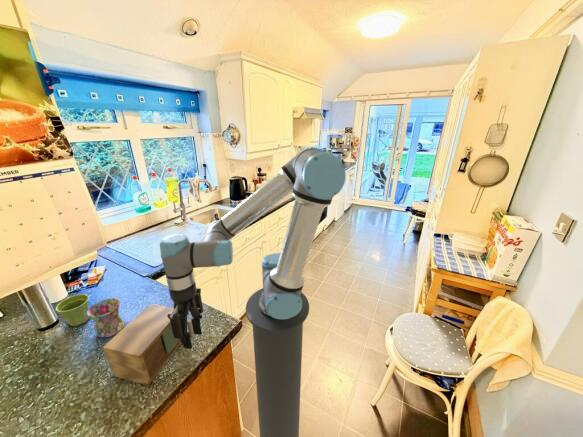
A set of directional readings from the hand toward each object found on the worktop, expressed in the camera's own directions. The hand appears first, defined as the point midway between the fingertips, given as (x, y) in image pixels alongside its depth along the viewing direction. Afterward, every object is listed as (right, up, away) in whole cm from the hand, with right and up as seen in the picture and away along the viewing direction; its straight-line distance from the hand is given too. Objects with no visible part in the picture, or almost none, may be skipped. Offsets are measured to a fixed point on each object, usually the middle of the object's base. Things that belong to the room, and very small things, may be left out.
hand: (192, 340), depth 80 cm
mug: (-32, 0, +5) cm, 33 cm away
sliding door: (-3, -1, -1) cm, 3 cm away
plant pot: (-48, +2, +10) cm, 49 cm away
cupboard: (-12, -3, -2) cm, 13 cm away
